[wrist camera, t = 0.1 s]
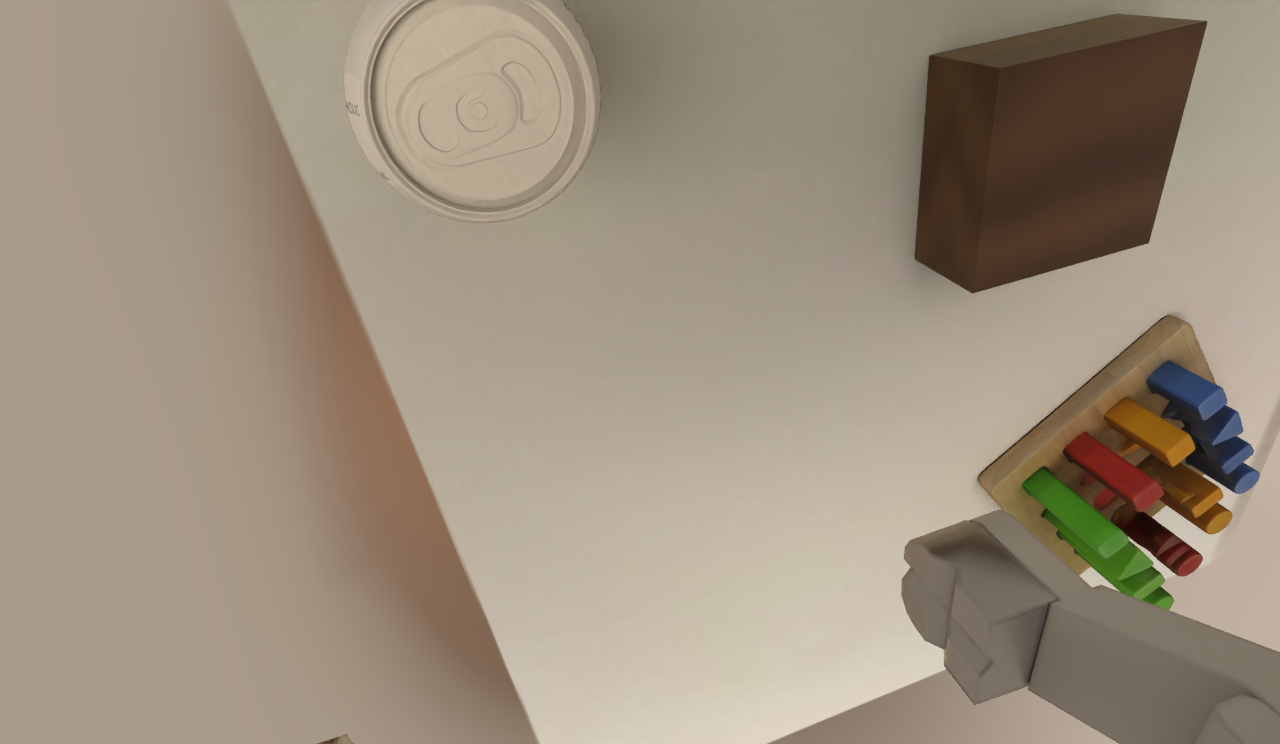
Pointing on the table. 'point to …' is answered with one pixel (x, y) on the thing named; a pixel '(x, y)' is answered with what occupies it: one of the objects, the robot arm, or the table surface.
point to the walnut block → (1050, 146)
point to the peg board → (1130, 464)
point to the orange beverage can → (473, 102)
